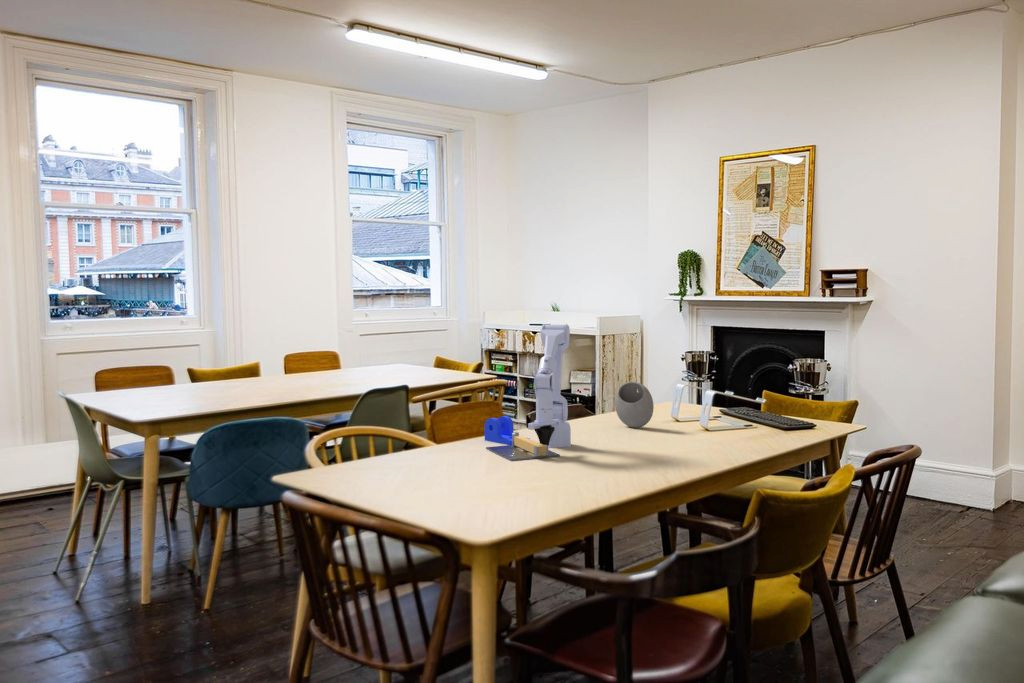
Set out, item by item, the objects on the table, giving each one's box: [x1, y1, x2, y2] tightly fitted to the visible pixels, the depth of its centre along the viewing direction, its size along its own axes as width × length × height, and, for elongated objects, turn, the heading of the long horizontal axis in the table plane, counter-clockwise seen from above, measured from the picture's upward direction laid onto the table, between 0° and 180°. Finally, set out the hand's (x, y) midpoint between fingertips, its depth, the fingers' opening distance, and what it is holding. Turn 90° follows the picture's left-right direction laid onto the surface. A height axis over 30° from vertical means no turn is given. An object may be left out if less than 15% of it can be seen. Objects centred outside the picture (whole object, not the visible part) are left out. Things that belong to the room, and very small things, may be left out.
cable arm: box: [514, 435, 549, 456], centre depth 283 cm, size 20×4×3 cm, turn 24°
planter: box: [614, 381, 654, 429], centre depth 335 cm, size 18×7×19 cm, turn 46°
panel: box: [485, 431, 561, 462], centre depth 284 cm, size 18×22×6 cm
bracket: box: [484, 415, 531, 445], centre depth 304 cm, size 18×8×9 cm, turn 45°
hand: (544, 448), depth 282 cm, fingers closed
